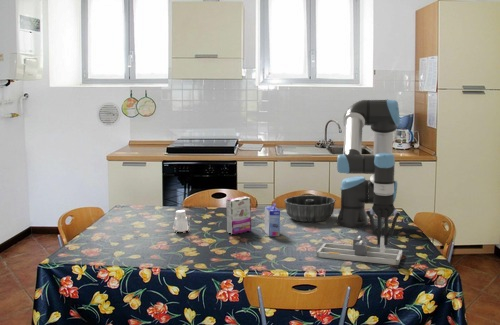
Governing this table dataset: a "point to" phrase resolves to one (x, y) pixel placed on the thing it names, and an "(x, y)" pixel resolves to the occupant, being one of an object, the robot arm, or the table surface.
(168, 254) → the table surface
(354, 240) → the tab
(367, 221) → the robot arm
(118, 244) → the table surface
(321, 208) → the bundt pan
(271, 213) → the ink cartridge box
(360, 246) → the tab
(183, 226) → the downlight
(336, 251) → the tray
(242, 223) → the candy bar box
